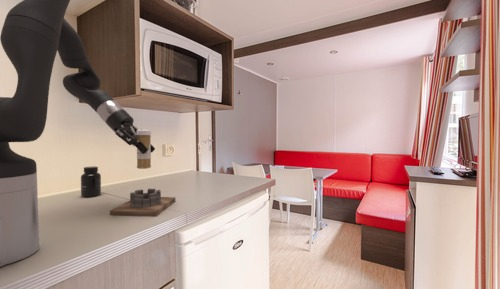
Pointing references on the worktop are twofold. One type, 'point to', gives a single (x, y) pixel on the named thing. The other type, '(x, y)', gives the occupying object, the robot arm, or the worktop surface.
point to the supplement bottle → (90, 182)
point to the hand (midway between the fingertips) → (149, 151)
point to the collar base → (143, 210)
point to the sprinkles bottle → (145, 159)
